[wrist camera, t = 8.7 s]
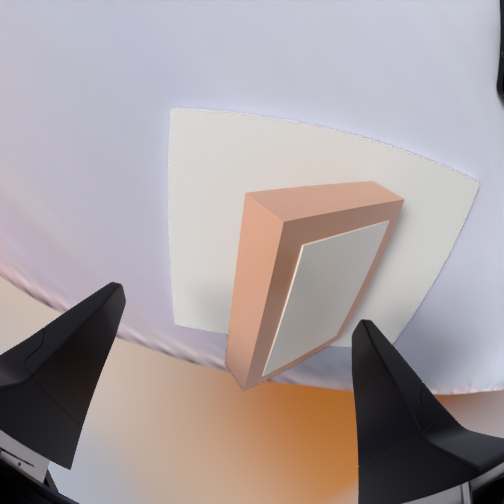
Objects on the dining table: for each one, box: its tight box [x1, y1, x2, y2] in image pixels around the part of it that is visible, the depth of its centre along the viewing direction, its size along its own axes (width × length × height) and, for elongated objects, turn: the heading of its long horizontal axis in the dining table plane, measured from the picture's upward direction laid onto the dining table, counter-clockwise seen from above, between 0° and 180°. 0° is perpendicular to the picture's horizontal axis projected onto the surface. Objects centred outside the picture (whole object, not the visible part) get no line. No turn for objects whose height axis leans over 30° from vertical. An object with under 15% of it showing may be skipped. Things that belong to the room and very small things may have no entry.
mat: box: [168, 108, 480, 347], centre depth 13 cm, size 14×12×1 cm
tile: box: [225, 181, 405, 391], centre depth 10 cm, size 2×8×6 cm
